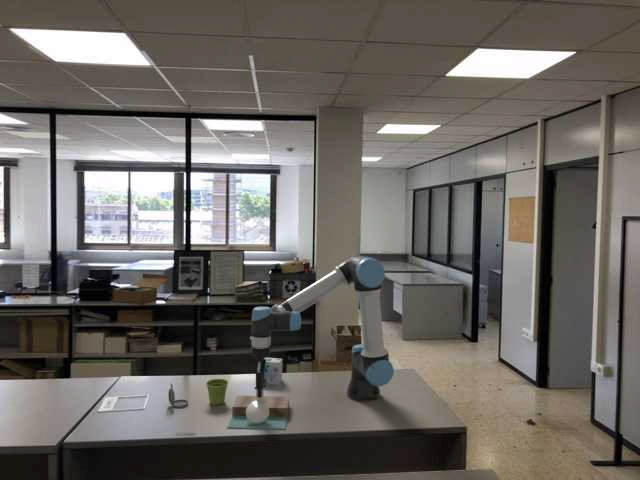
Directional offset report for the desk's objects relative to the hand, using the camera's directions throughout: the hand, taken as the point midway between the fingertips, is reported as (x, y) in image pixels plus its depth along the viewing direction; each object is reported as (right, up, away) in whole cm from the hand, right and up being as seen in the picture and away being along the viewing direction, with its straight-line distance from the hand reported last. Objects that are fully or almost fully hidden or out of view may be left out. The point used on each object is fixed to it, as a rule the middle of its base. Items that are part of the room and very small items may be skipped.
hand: (259, 404), depth 193 cm
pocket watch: (-36, -4, +10) cm, 38 cm away
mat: (0, -6, -5) cm, 8 cm away
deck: (0, -5, +6) cm, 8 cm away
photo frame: (-58, -4, +10) cm, 59 cm away
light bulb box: (0, -3, +41) cm, 41 cm away
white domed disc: (0, -2, -4) cm, 5 cm away
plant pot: (-20, -4, +14) cm, 25 cm away
